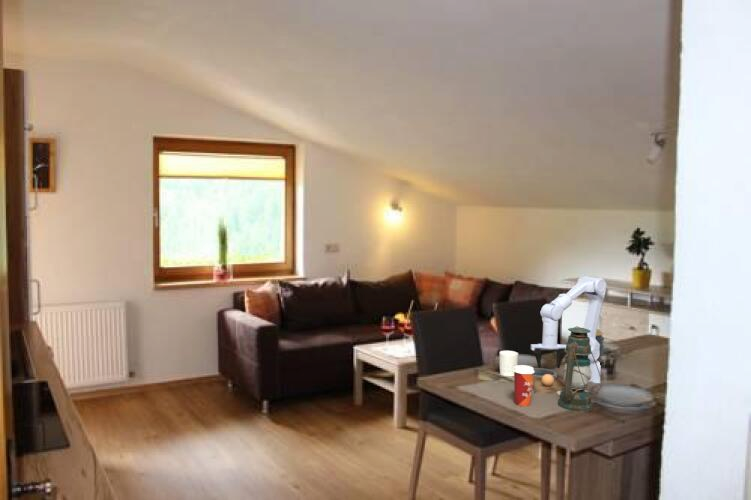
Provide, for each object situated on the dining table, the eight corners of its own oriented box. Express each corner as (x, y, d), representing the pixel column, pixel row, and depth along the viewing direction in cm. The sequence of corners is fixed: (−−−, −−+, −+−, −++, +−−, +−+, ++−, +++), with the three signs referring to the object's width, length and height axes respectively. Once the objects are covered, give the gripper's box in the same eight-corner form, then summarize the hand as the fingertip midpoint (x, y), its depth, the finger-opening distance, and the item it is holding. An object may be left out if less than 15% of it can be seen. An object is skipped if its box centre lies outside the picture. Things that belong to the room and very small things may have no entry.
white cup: (517, 379, 279) (518, 355, 278) (498, 377, 281) (499, 354, 280) (517, 373, 287) (518, 351, 286) (498, 372, 289) (499, 350, 288)
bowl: (551, 374, 287) (551, 368, 287) (560, 383, 275) (560, 376, 274) (522, 374, 287) (522, 368, 286) (529, 383, 274) (530, 376, 274)
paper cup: (528, 409, 243) (530, 371, 241) (508, 404, 247) (510, 368, 245) (535, 403, 249) (537, 366, 248) (516, 399, 254) (517, 363, 252)
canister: (606, 361, 311) (608, 324, 309) (599, 367, 300) (601, 329, 298) (578, 356, 317) (580, 320, 316) (570, 362, 307) (572, 325, 305)
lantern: (568, 395, 259) (572, 320, 256) (605, 404, 250) (610, 325, 247) (548, 408, 244) (552, 328, 240) (586, 417, 235) (591, 334, 232)
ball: (551, 384, 270) (552, 372, 270) (555, 388, 265) (555, 376, 265) (539, 383, 270) (540, 372, 269) (543, 387, 265) (543, 375, 265)
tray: (559, 383, 275) (559, 377, 275) (570, 394, 261) (570, 388, 261) (525, 383, 274) (525, 377, 274) (534, 393, 260) (535, 387, 260)
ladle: (586, 390, 264) (586, 387, 264) (590, 395, 261) (591, 392, 260) (555, 392, 262) (555, 389, 262) (559, 397, 258) (559, 394, 258)
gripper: (564, 332, 270) (563, 364, 271) (529, 331, 269) (527, 364, 270) (570, 336, 263) (568, 369, 264) (534, 336, 262) (532, 369, 263)
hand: (548, 367), depth 267 cm, fingers open, 7 cm apart
